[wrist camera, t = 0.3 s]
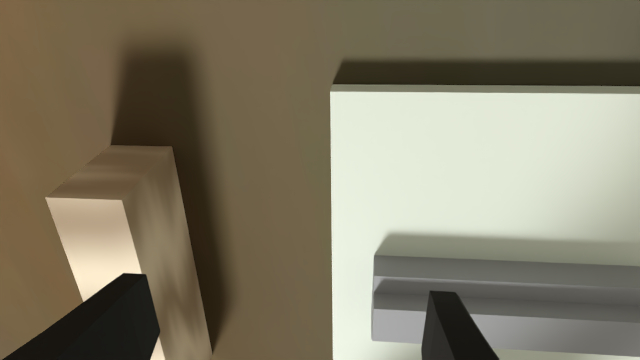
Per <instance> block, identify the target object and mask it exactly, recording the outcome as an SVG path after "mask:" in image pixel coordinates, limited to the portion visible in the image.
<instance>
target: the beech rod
mask: <svg viewBox="0 0 640 360" xmlns="http://www.w3.org/2000/svg"><path fill="white" fill-rule="evenodd" d="M45 198H46V201H47V203H48V206H49V209H50V211H51V214H52V217H53V220H54V222H55V225H56V228H57V231H58V233H59V236H60V239H61V241H62V244H63V247H64V250H65V252H66V255H67V258H68V260H69V263H70V266H71V269H72V271H73V274H74V277H75V280H76V282H77V285H78V288H79V290H80V293H81V296H82V299H83V301H86V300H87V299H88V298H90V297H91V296H92V295H94V294H95V293H96V292H98V291H99V290H100V289H102V288H103V287H105V286H106V285H107V284H109V283H110V282H111V281H113V280H114V279H116V278H117V277H118V276H120V275H121V274H123V273H135V274H146V275H147V279H148V283H149V287H150V291H151V295H152V299H153V303H154V307H155V311H156V315H157V319H158V323H159V327H160V334H159V337H158V340H157V343H156V345H155V348H154V351H153V354H152V356H151V359H150V360H211V357H212V350H211V345H210V339H209V334H208V329H207V324H206V319H205V314H204V308H203V303H202V298H201V293H200V288H199V283H198V278H197V272H196V267H195V262H194V257H193V252H192V247H191V242H190V236H189V231H188V226H187V221H186V216H185V211H184V205H183V200H182V195H181V190H180V185H179V180H178V175H177V169H176V164H175V159H174V154H173V149H172V147H169V146H127V145H110V146H109V147H108V148H106V149H105V150H104V151H103V152H101V153H100V154H99V155H98V156H96V157H95V158H94V159H93V160H91V161H90V162H89V163H88V164H86V165H85V166H84V167H83V168H81V169H80V170H79V171H78V172H76V173H75V174H74V175H73V176H71V177H70V178H69V179H68V180H66V181H65V182H64V183H63V184H61V185H60V186H59V187H58V188H57V189H55V190H54V191H53V192H52V193H50V194H49V195H48V196H47V197H45Z"/></svg>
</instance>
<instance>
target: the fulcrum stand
mask: <svg viewBox="0 0 640 360" xmlns="http://www.w3.org/2000/svg"><path fill="white" fill-rule="evenodd" d="M330 102H331V203H332V304H333V360H422V355H421V346H422V339H423V332H424V325H425V318H426V311H427V304H428V297H429V290H430V291H447V292H456V293H457V295H458V296H459V297H460V299H461V301H462V302H463V304H464V306H465V307H466V309H467V311H468V312H469V314H470V316H471V317H472V319H473V320H474V322H475V324H476V325H477V327H478V328H479V330H480V331H481V333H482V334H483V336H484V337H485V339H486V340H487V342H488V343H489V345H490V346H491V348H492V349H493V351H494V352H495V353H496V355H497V356H498V358H499V359H500V360H640V86H519V85H362V84H332V87H331V91H330Z"/></svg>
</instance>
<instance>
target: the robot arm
mask: <svg viewBox="0 0 640 360" xmlns="http://www.w3.org/2000/svg"><path fill="white" fill-rule="evenodd" d="M159 334H160V327H159V323H158V319H157V315H156V311H155V307H154V303H153V299H152V295H151V291H150V287H149V283H148V279H147V275H146V274H135V273H123V274H121V275H120V276H118V277H117V278H116V279H114V280H113V281H111V282H110V283H109V284H107V285H106V286H105V287H103V288H102V289H100V290H99V291H98V292H96V293H95V294H94V295H92V296H91V297H90V298H88V299H87V300H86V301H84V302H83V303H82V304H80V305H79V306H78V307H76V308H75V309H74V310H72V311H71V312H70V313H68V314H67V315H65V316H64V317H63V318H61V319H60V320H59V321H57V322H56V323H55V324H53V325H52V326H50V327H49V328H48V329H46V330H45V331H43V332H42V333H41V334H39V335H38V336H36V337H35V338H33V339H32V340H30V341H29V342H27V343H26V344H24V345H23V346H22V347H20V348H19V349H17V350H16V351H14V352H13V353H11V354H10V355H8V356H7V357H5V358H4V359H3V360H150V359H151V356H152V354H153V351H154V348H155V345H156V343H157V340H158V337H159ZM421 355H422V360H500V359H499V358H498V356H497V355H496V353H495V352H494V351H493V349H492V348H491V346H490V345H489V343H488V342H487V340H486V339H485V337H484V336H483V334H482V333H481V331H480V330H479V328H478V327H477V325H476V324H475V322H474V320H473V319H472V317H471V316H470V314H469V312H468V311H467V309H466V307H465V306H464V304H463V302H462V301H461V299H460V297H459V296H458V295H457V293H456V292H447V291H430V290H429V297H428V304H427V311H426V318H425V325H424V332H423V339H422V346H421Z"/></svg>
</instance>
